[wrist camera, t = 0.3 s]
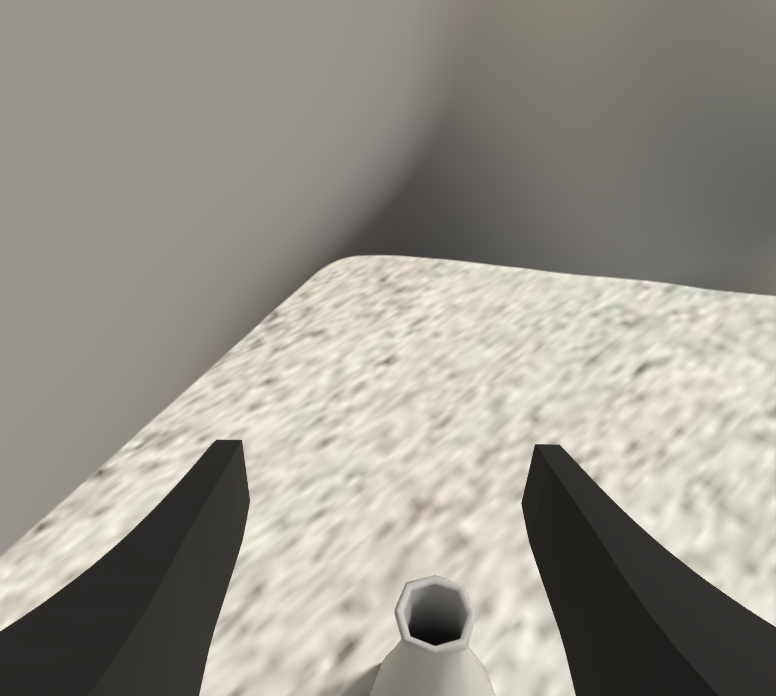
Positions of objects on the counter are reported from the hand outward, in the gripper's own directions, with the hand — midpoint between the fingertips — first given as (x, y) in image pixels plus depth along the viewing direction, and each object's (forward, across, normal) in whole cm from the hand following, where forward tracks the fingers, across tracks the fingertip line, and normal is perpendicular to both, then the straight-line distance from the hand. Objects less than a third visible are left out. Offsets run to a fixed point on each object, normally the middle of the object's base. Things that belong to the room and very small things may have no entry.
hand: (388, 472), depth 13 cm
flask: (+3, -3, +20) cm, 21 cm away
